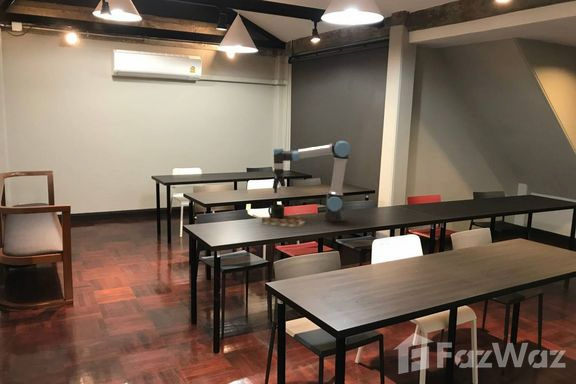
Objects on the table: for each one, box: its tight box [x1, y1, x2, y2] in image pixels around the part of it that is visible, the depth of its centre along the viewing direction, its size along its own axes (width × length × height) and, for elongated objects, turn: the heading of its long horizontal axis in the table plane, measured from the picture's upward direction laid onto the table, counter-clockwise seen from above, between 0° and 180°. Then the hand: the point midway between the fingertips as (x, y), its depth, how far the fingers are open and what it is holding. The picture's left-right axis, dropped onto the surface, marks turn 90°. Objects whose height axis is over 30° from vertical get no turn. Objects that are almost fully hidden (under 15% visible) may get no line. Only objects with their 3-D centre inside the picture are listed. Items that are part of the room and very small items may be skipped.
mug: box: [267, 203, 285, 219], centre depth 365 cm, size 11×15×12 cm
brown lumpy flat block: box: [261, 214, 306, 228], centre depth 363 cm, size 30×16×5 cm, turn 68°
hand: (279, 195), depth 364 cm, fingers open, 13 cm apart
